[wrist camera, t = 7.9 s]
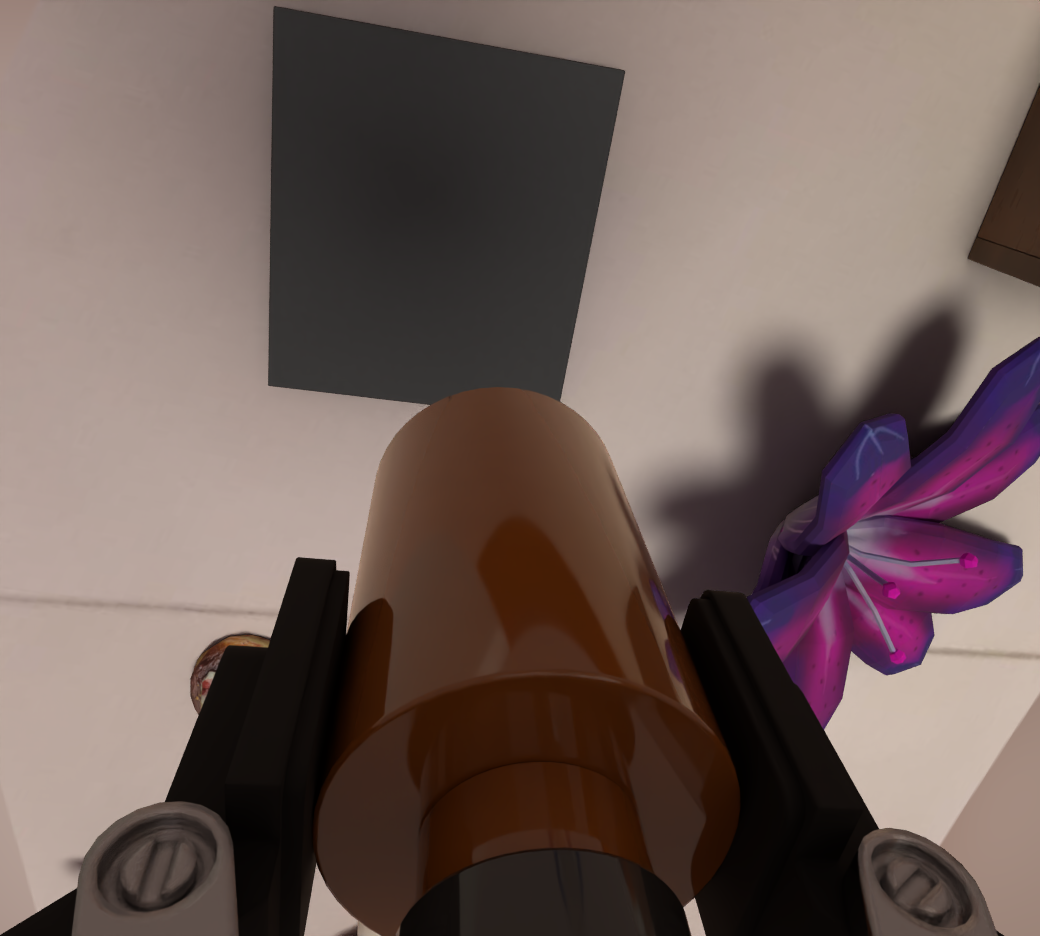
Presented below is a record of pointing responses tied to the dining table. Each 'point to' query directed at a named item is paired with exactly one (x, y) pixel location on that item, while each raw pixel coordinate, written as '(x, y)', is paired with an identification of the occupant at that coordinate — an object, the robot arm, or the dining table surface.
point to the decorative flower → (897, 538)
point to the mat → (428, 209)
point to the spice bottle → (515, 696)
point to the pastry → (216, 665)
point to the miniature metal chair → (1015, 210)
